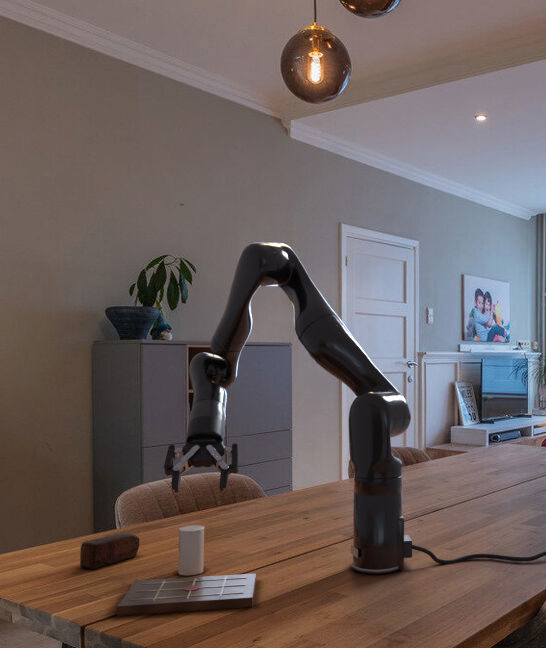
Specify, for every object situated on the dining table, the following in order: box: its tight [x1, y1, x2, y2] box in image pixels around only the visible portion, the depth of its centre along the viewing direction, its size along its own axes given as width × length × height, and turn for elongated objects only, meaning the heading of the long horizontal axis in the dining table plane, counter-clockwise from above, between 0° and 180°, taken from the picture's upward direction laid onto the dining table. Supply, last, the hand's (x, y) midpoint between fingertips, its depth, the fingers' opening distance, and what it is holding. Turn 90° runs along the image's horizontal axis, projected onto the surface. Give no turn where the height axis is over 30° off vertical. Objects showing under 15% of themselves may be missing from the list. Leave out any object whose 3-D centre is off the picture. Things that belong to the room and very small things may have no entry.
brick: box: [79, 532, 140, 570], centre depth 140 cm, size 11×4×5 cm, turn 157°
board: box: [116, 573, 257, 617], centre depth 119 cm, size 20×13×2 cm, turn 102°
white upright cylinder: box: [177, 524, 205, 576], centre depth 134 cm, size 4×4×8 cm
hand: (199, 489), depth 144 cm, fingers open, 8 cm apart
